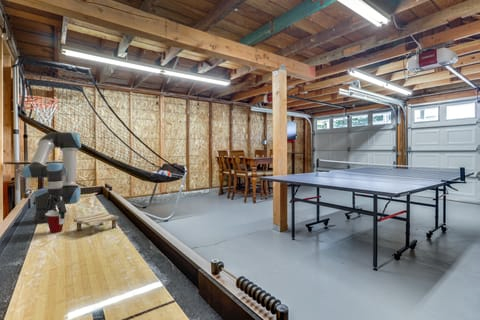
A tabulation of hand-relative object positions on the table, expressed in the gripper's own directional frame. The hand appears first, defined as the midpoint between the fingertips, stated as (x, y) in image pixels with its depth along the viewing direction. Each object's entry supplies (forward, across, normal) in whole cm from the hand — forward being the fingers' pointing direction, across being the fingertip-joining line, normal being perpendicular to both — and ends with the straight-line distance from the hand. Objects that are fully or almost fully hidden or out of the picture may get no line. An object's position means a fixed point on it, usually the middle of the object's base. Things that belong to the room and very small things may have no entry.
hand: (56, 222), depth 154 cm
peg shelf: (+6, +17, +15) cm, 23 cm away
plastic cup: (+6, 0, 0) cm, 6 cm away
